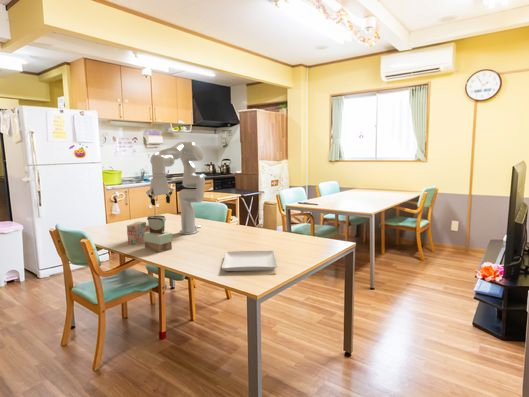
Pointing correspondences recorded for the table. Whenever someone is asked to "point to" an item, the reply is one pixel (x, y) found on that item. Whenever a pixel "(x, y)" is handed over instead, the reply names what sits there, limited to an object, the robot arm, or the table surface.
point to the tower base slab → (158, 246)
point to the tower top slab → (158, 238)
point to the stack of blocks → (137, 232)
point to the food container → (156, 224)
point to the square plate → (249, 261)
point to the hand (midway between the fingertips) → (160, 204)
